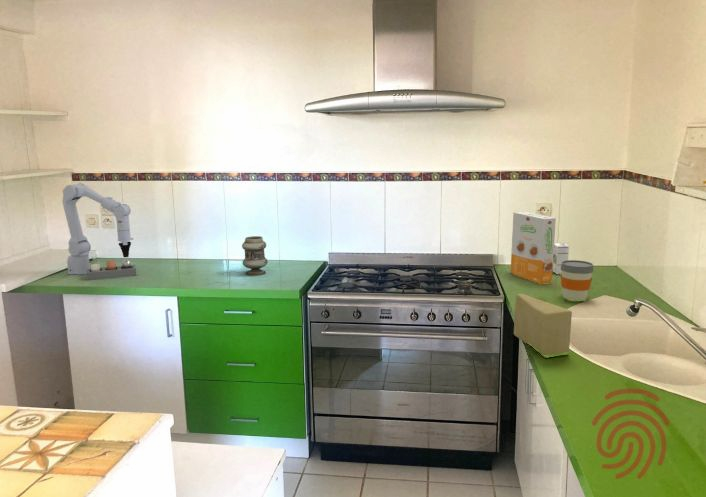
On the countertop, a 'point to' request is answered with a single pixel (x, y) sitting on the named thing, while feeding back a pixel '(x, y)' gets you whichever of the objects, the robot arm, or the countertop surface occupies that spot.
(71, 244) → the robot arm
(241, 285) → the countertop surface
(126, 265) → the steel plunger
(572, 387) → the countertop surface
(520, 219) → the cereal box
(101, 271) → the button panel
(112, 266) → the brick-red plunger
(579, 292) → the reusable coffee cup
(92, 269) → the ivory plunger
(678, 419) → the countertop surface
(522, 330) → the cheese
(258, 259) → the apothecary jar
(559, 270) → the syrup box
